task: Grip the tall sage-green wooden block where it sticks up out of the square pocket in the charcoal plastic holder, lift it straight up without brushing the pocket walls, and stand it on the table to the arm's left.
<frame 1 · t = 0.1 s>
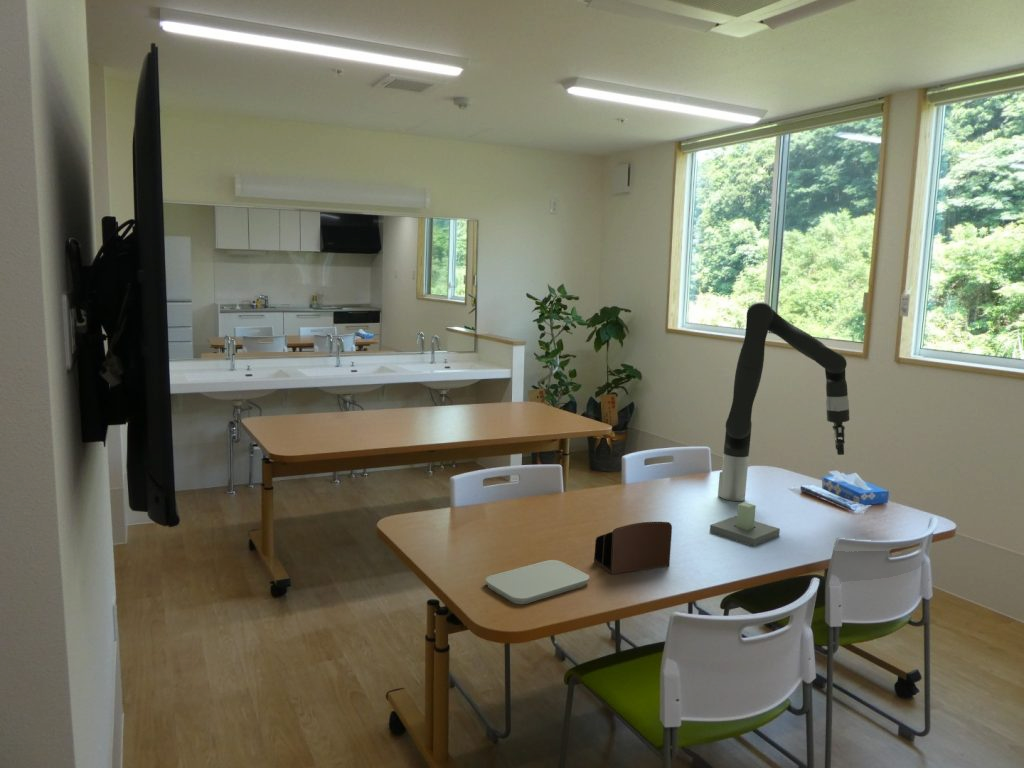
hand: (839, 452, 271), 22 cm above the table, tool pointing down, fingers open, 8 cm apart
letter holder: (631, 565, 216), on the table
tablet: (537, 586, 200), on the table
sage block: (744, 534, 246), resting in pocket holder
pocket holder: (744, 533, 246), on the table
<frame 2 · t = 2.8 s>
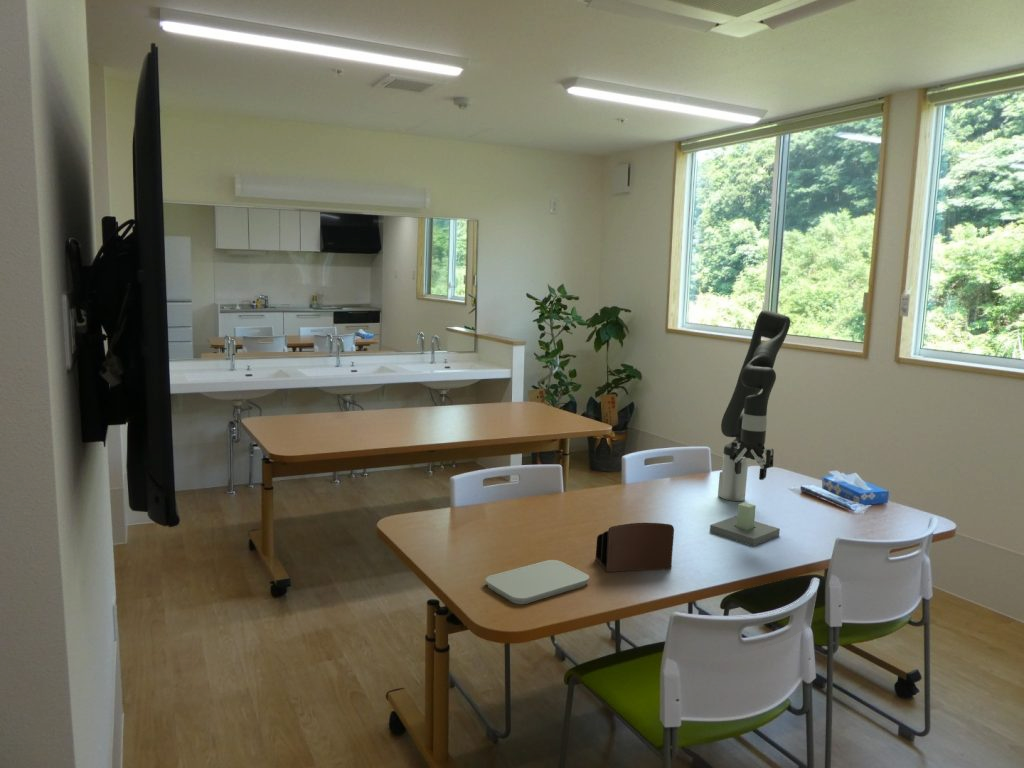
hand: (749, 476, 243), 20 cm above the table, tool pointing down, fingers open, 8 cm apart
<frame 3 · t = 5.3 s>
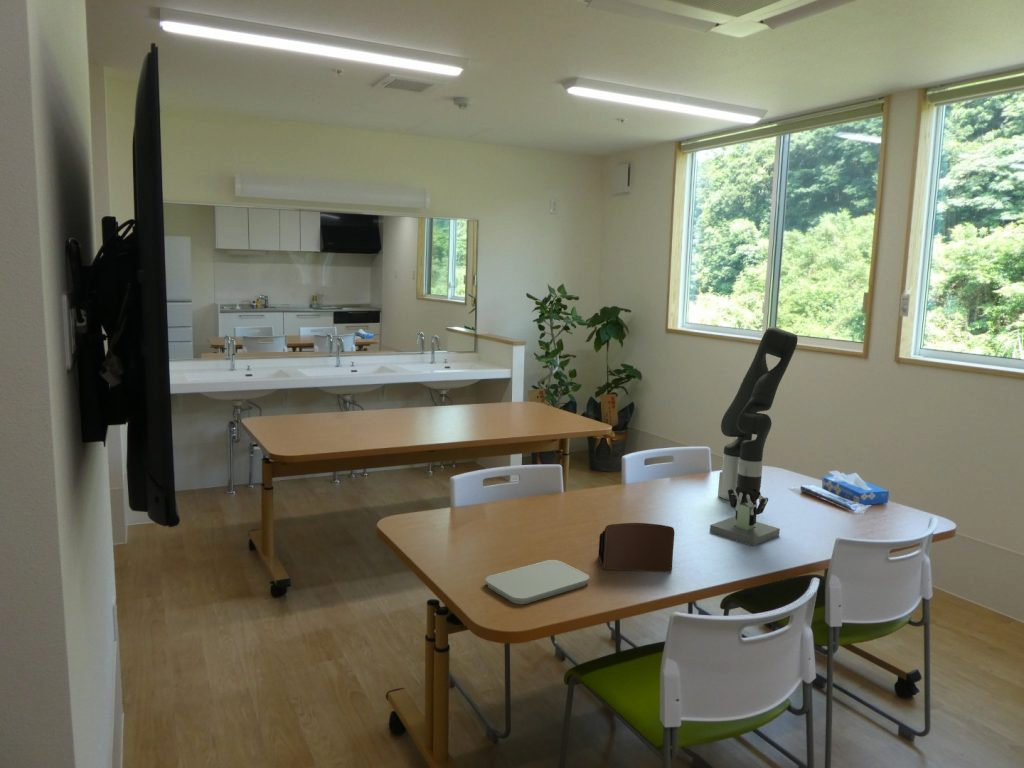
hand: (745, 523, 245), 4 cm above the table, tool pointing down, fingers closed on sage block, 4 cm apart
sage block: (744, 534, 246), resting in pocket holder, touching gripper
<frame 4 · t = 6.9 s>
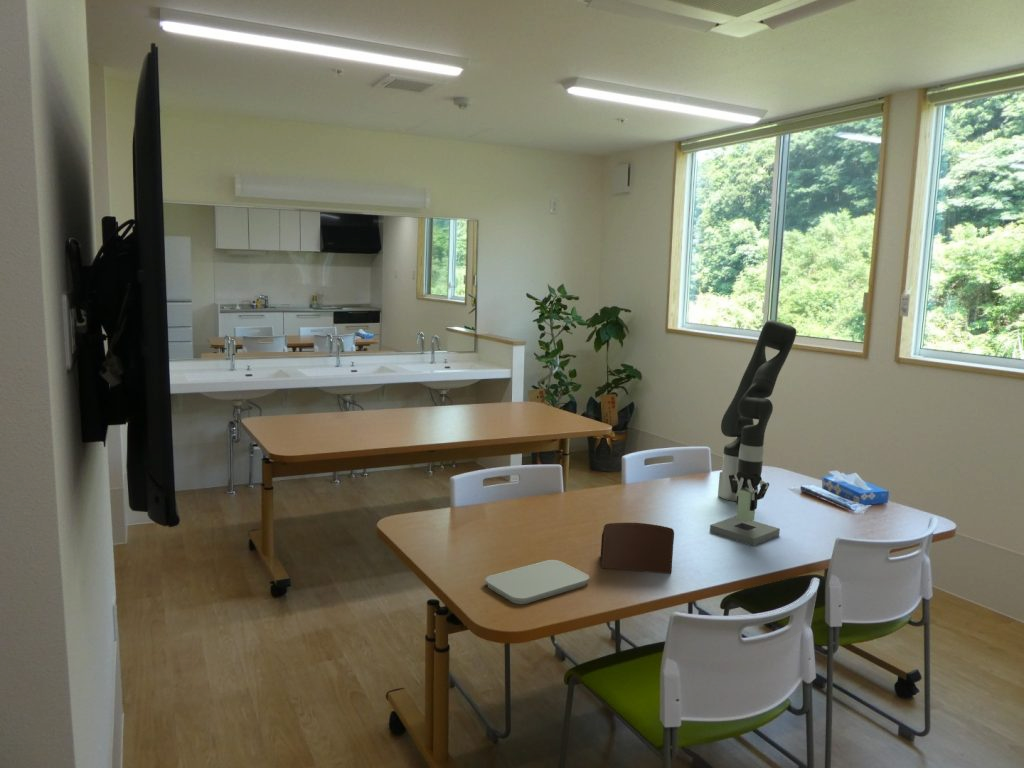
hand: (746, 508, 245), 9 cm above the table, tool pointing down, fingers closed on sage block, 4 cm apart
sage block: (745, 519, 245), point 5 cm above the table, touching gripper
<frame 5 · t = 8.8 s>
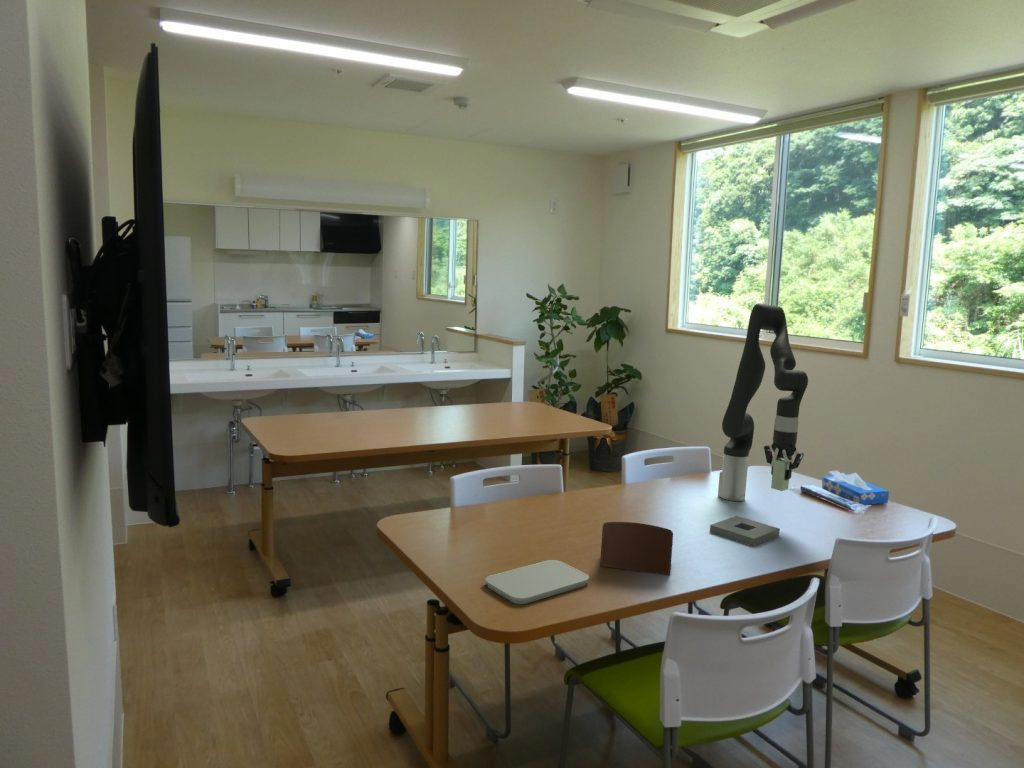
hand: (780, 477, 253), 17 cm above the table, tool pointing down, fingers closed on sage block, 4 cm apart
sage block: (779, 488, 254), point 13 cm above the table, touching gripper
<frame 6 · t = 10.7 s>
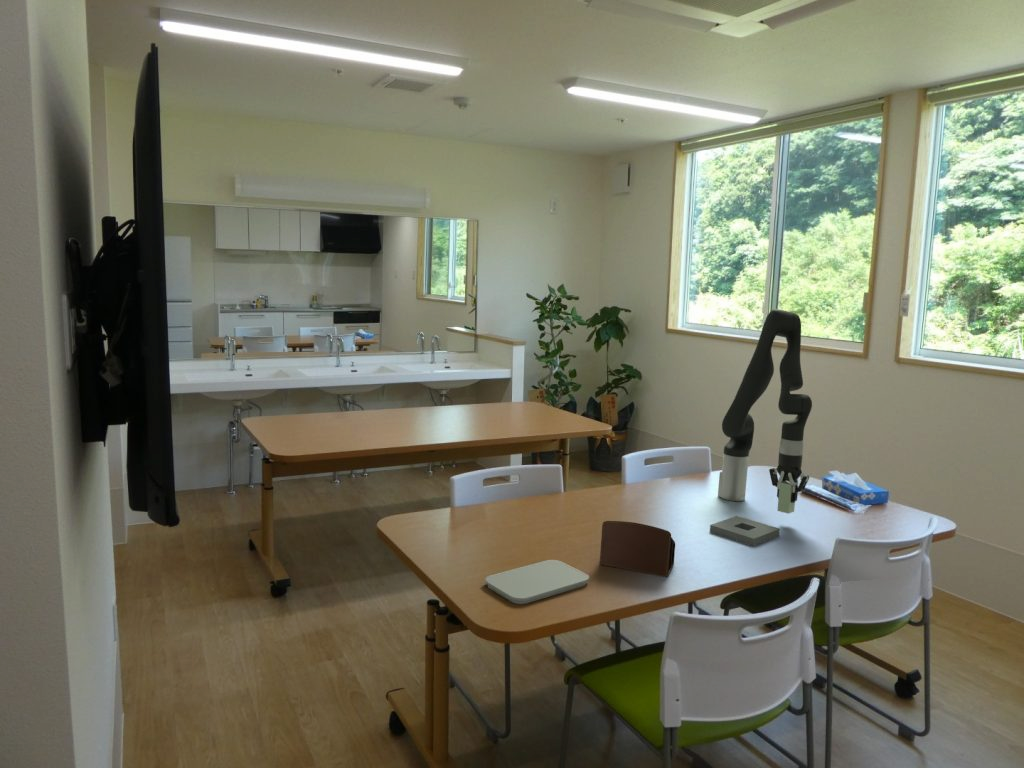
hand: (786, 500, 256), 9 cm above the table, tool pointing down, fingers closed on sage block, 4 cm apart
sage block: (785, 511, 256), point 5 cm above the table, touching gripper
when the fingers open (5 cm above the table, at t = 12.2 s): sage block stays where it is, on the table.
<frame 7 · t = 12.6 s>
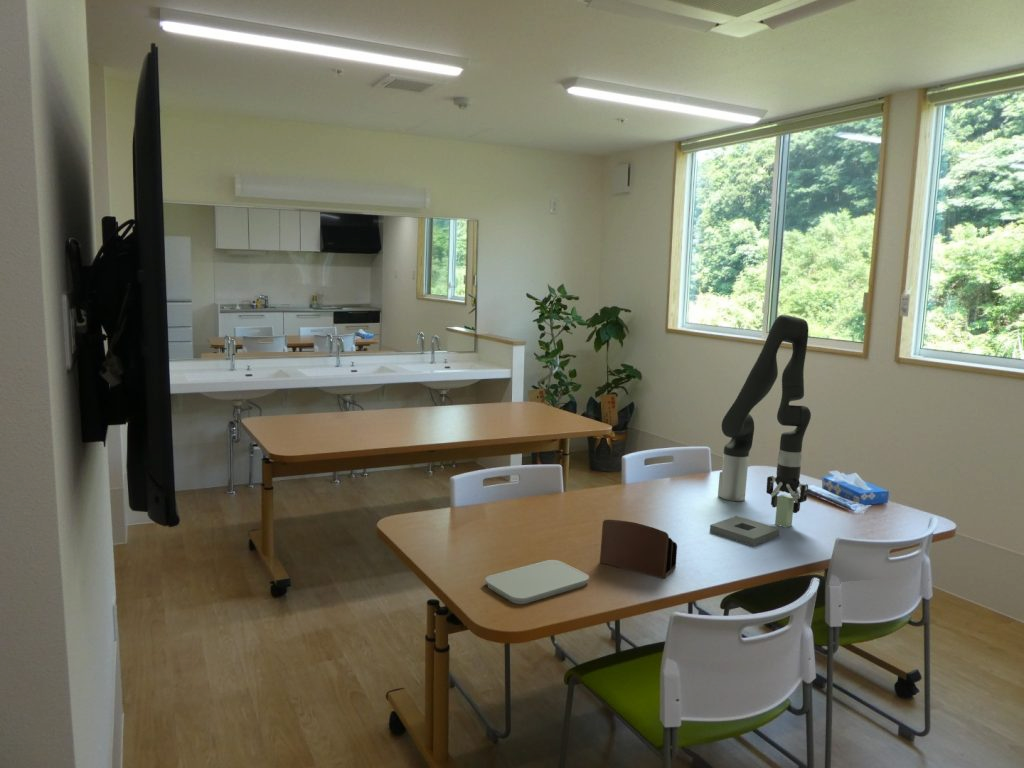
hand: (784, 509, 256), 5 cm above the table, tool pointing down, fingers open, 7 cm apart
sage block: (783, 524, 257), on the table
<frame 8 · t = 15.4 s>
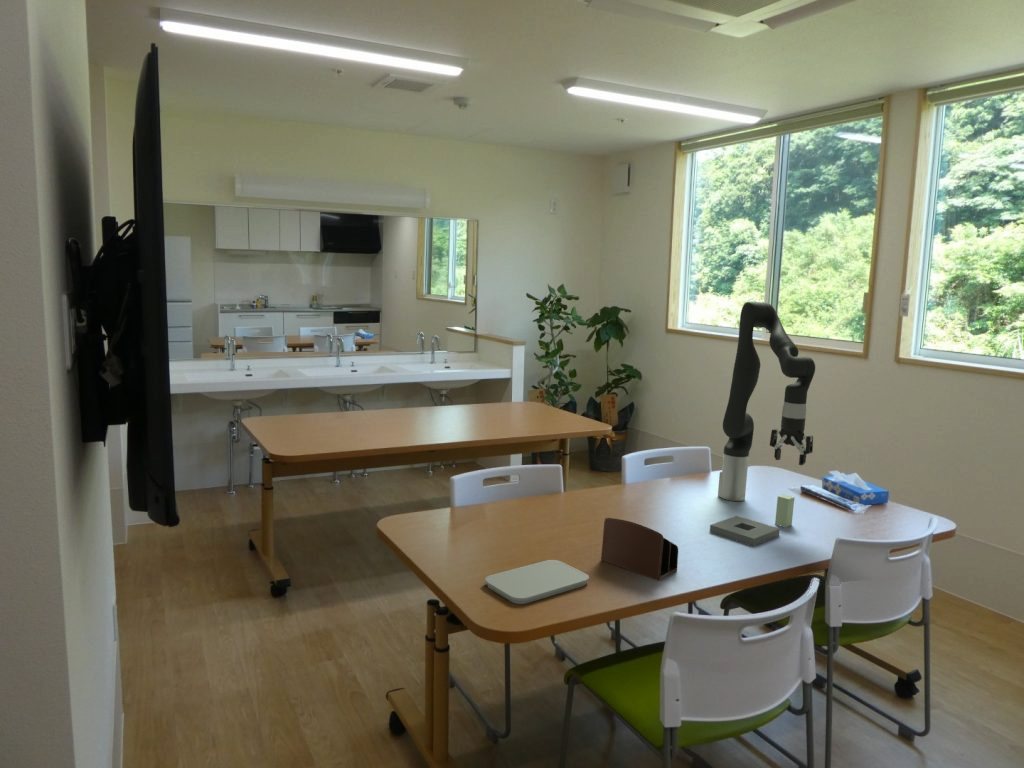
hand: (789, 462, 254), 22 cm above the table, tool pointing down, fingers open, 8 cm apart
at the end: sage block inside the target area (0.0 cm from its centre), on the table; sage block tilted 0°; the gripper is holding nothing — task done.
